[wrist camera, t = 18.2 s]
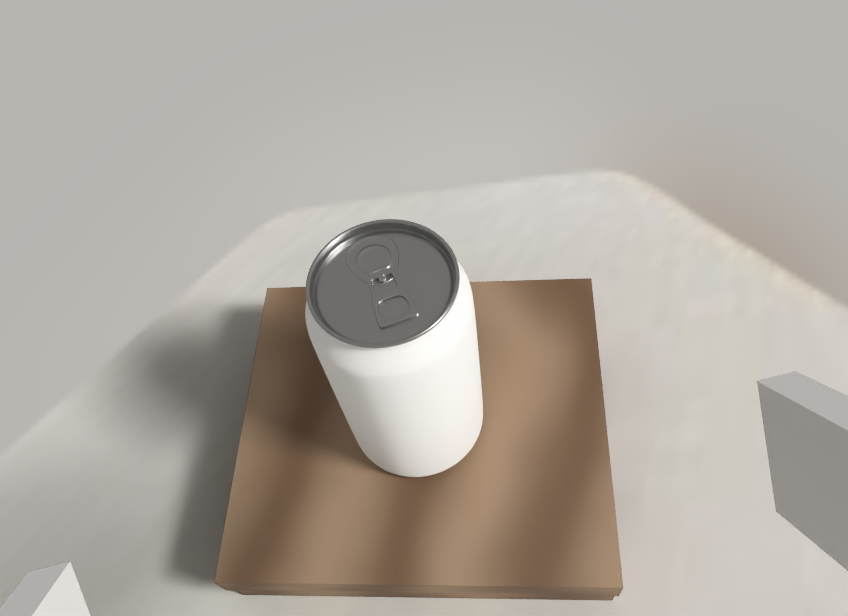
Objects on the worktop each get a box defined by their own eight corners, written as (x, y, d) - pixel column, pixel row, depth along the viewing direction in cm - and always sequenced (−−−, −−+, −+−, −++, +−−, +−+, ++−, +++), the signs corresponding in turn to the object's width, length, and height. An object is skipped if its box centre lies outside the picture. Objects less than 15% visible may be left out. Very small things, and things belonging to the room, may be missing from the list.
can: (455, 343, 39) (434, 188, 29) (505, 451, 36) (500, 317, 26) (338, 386, 38) (274, 244, 28) (377, 501, 35) (320, 384, 25)
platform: (241, 600, 37) (214, 582, 34) (285, 325, 46) (267, 288, 42) (613, 607, 35) (623, 587, 32) (585, 317, 44) (591, 278, 40)
